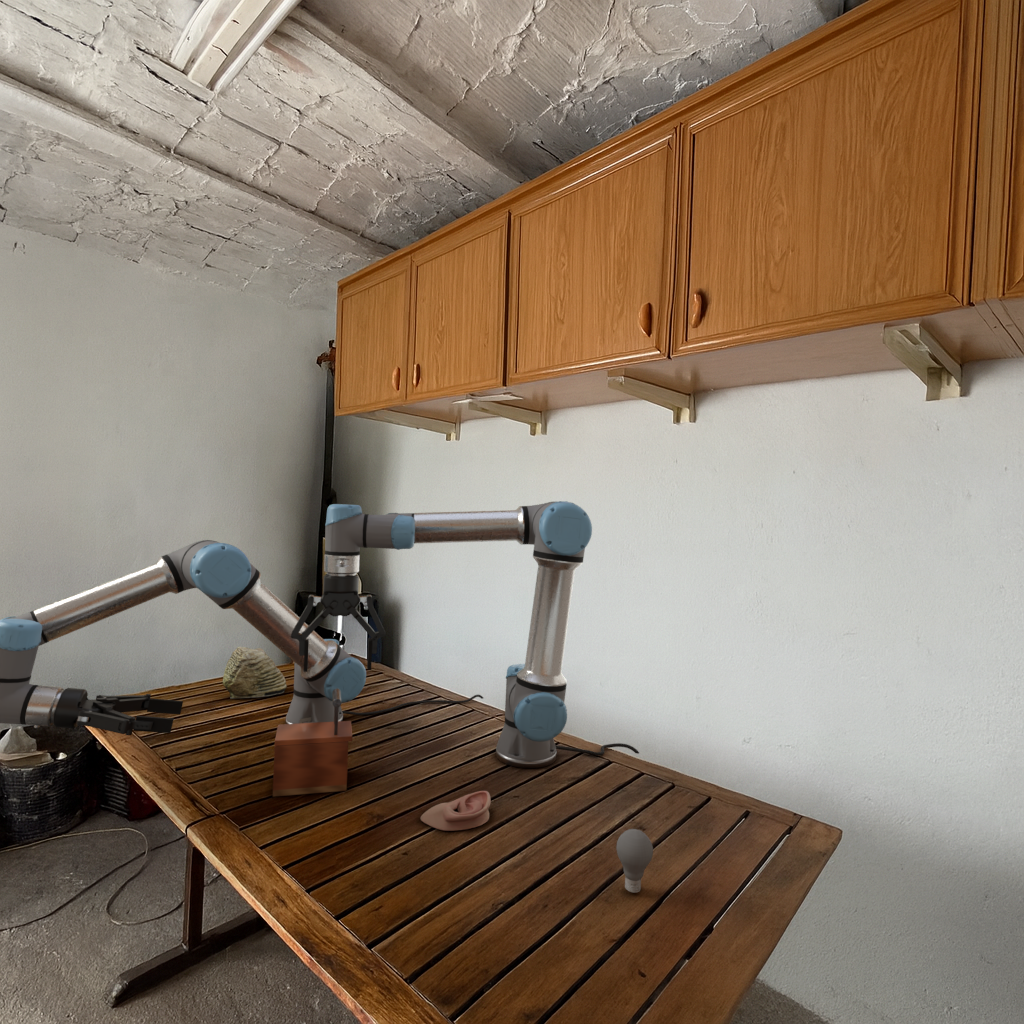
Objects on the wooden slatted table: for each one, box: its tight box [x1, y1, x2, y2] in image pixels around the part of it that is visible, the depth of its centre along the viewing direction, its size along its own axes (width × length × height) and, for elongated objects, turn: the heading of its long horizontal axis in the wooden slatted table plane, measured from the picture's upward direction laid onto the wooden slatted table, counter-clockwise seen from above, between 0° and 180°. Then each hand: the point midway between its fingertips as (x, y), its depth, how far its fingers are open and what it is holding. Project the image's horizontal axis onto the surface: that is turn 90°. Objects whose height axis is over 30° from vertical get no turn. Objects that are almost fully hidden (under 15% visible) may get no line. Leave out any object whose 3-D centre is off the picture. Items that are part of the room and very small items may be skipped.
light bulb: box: [615, 828, 654, 894], centre depth 106 cm, size 6×6×10 cm
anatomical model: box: [419, 790, 492, 832], centre depth 127 cm, size 13×4×12 cm
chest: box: [272, 741, 349, 798], centre depth 140 cm, size 15×10×11 cm, turn 106°
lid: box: [274, 689, 353, 747], centre depth 139 cm, size 16×10×9 cm, turn 106°
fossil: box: [222, 646, 288, 699], centre depth 198 cm, size 9×18×15 cm, turn 132°
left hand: (177, 716), depth 132 cm, fingers open, 13 cm apart
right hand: (337, 669), depth 141 cm, fingers open, 13 cm apart
